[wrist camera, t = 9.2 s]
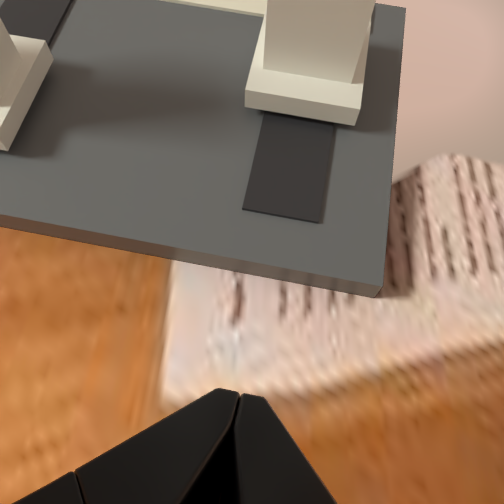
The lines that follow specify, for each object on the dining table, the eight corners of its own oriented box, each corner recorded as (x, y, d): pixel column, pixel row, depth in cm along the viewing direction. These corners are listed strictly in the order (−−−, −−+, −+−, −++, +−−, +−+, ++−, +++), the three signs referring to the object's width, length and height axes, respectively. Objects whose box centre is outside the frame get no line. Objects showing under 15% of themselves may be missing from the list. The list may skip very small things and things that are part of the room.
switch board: (373, 297, 22) (385, 283, 21) (-149, 198, 24) (-178, 177, 22) (398, 29, 30) (407, 2, 28) (-1, -36, 31) (-14, -65, 29)
